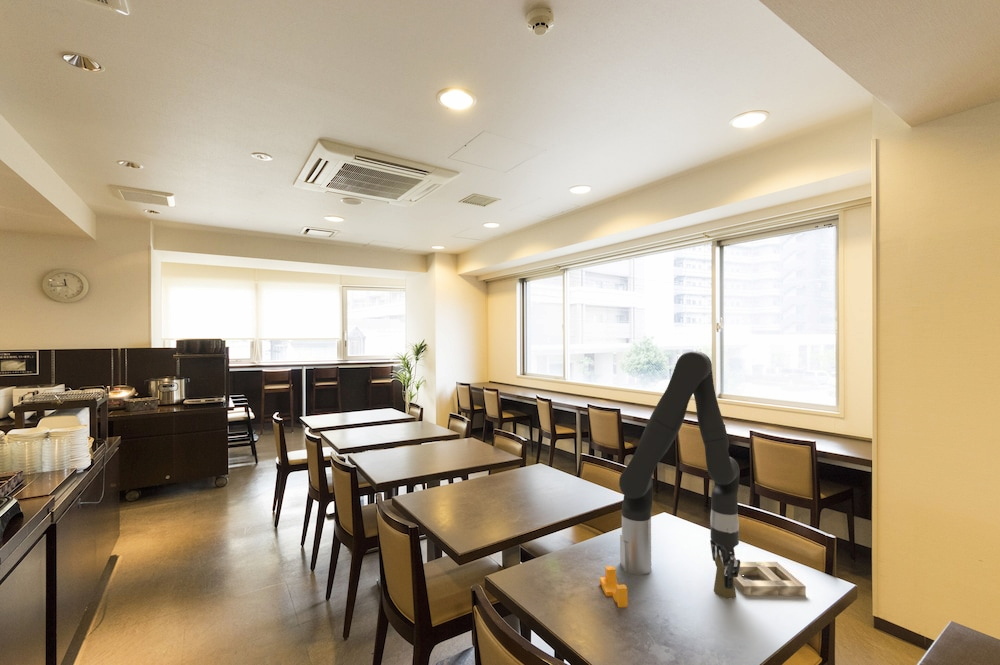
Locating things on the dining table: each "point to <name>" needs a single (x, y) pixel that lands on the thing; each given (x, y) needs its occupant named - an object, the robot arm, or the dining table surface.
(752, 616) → the dining table surface
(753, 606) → the dining table surface
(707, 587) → the dining table surface
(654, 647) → the dining table surface
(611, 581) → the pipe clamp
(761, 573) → the socket block
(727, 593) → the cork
